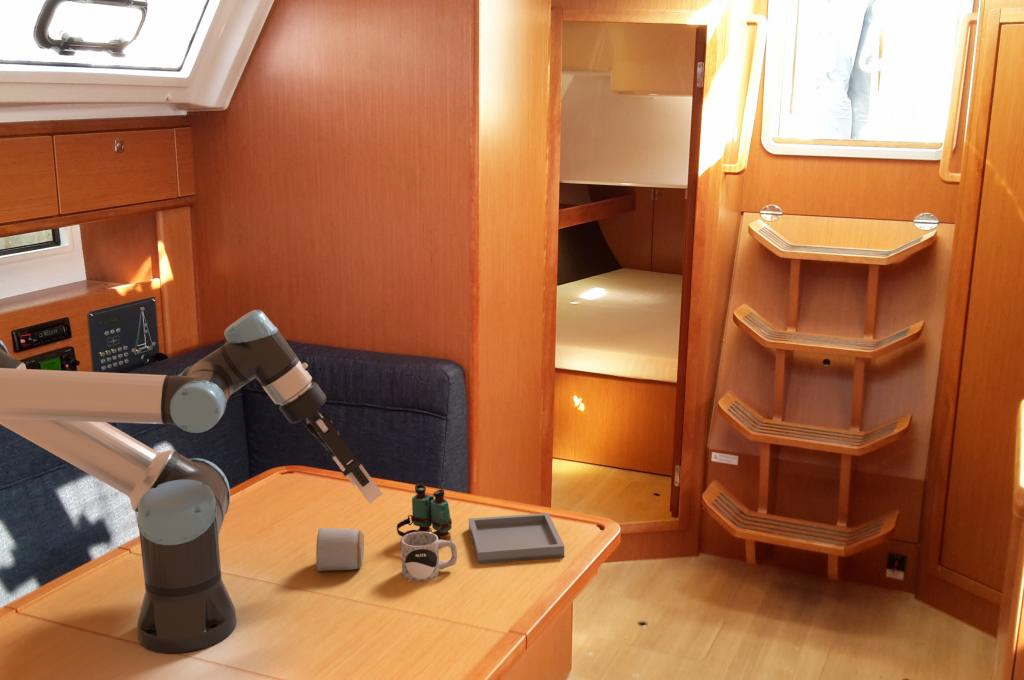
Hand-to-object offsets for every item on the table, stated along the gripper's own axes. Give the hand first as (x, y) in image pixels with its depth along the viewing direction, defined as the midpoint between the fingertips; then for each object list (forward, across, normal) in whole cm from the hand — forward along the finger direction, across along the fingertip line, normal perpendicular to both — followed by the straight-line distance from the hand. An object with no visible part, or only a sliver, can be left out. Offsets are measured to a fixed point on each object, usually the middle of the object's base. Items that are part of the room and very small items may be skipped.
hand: (367, 489), depth 179 cm
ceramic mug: (+12, +10, +12) cm, 19 cm away
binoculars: (+20, +13, -3) cm, 24 cm away
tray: (+29, +7, -17) cm, 34 cm away
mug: (+20, +1, 0) cm, 20 cm away
